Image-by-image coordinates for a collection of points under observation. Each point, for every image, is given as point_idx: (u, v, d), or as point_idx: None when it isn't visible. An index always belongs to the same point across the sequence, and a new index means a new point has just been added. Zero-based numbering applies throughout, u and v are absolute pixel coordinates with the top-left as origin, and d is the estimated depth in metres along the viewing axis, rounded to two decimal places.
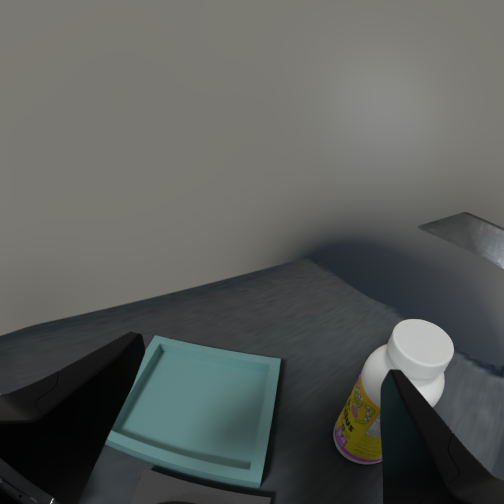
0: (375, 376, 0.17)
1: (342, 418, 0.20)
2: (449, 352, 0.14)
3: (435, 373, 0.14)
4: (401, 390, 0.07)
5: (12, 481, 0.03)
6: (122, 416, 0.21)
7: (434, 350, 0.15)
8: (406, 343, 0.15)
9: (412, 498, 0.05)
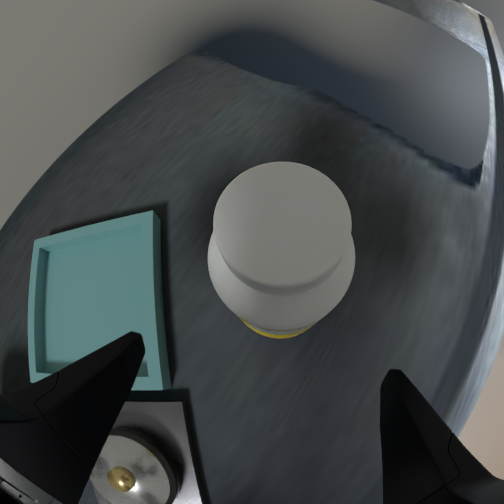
0: (217, 274, 0.12)
1: None
2: (338, 242, 0.09)
3: (309, 287, 0.09)
4: (401, 390, 0.07)
5: (12, 481, 0.03)
6: (40, 349, 0.20)
7: (303, 242, 0.09)
8: (238, 234, 0.09)
9: (412, 498, 0.05)
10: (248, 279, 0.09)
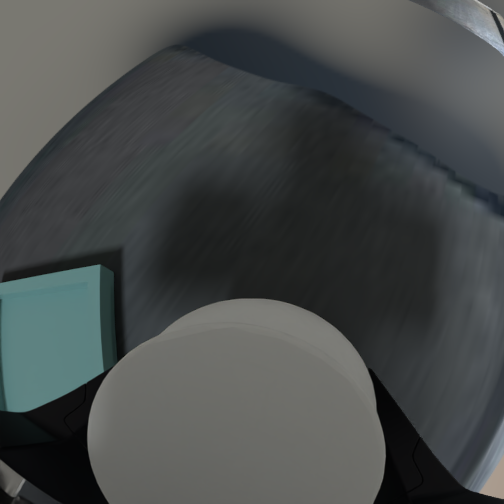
0: None
1: None
2: None
3: None
4: None
5: (40, 503, 0.03)
6: None
7: None
8: (133, 491, 0.03)
9: (377, 503, 0.05)
10: None
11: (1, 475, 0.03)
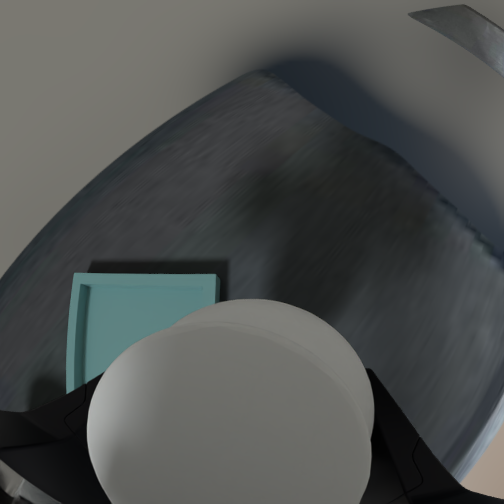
0: None
1: None
2: None
3: None
4: None
5: (40, 503, 0.03)
6: None
7: None
8: (129, 482, 0.03)
9: (377, 503, 0.05)
10: None
11: (1, 475, 0.03)
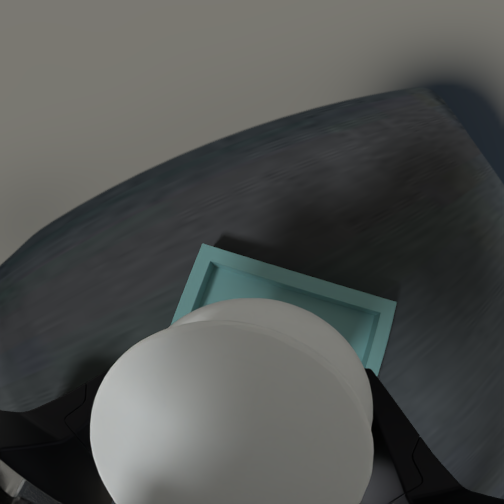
0: None
1: None
2: None
3: None
4: None
5: (40, 503, 0.03)
6: None
7: None
8: (133, 481, 0.03)
9: (376, 503, 0.05)
10: None
11: (1, 475, 0.03)
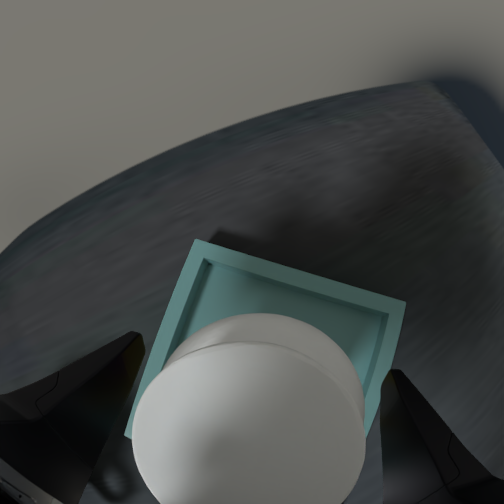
0: None
1: None
2: (335, 493, 0.04)
3: None
4: (401, 390, 0.07)
5: (12, 481, 0.03)
6: None
7: (276, 496, 0.04)
8: (171, 475, 0.04)
9: (412, 498, 0.05)
10: None
11: None
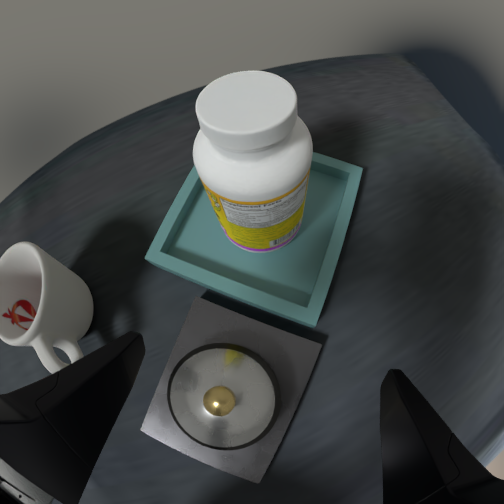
0: (198, 154, 0.14)
1: None
2: (285, 109, 0.11)
3: (263, 143, 0.12)
4: (401, 390, 0.07)
5: (12, 481, 0.03)
6: (175, 231, 0.24)
7: (258, 109, 0.12)
8: (212, 107, 0.12)
9: (412, 498, 0.05)
10: (216, 132, 0.11)
11: None
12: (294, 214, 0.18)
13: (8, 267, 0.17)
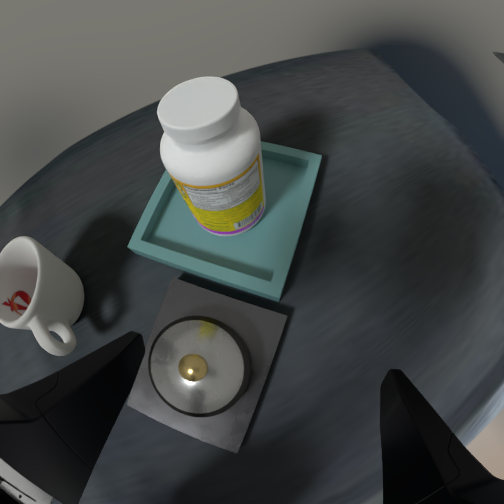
0: (163, 149, 0.17)
1: None
2: (226, 106, 0.14)
3: (210, 134, 0.14)
4: (401, 390, 0.07)
5: (12, 481, 0.03)
6: (153, 222, 0.26)
7: (205, 108, 0.14)
8: (170, 109, 0.14)
9: (412, 499, 0.05)
10: (172, 129, 0.14)
11: None
12: (251, 197, 0.21)
13: (7, 260, 0.19)
